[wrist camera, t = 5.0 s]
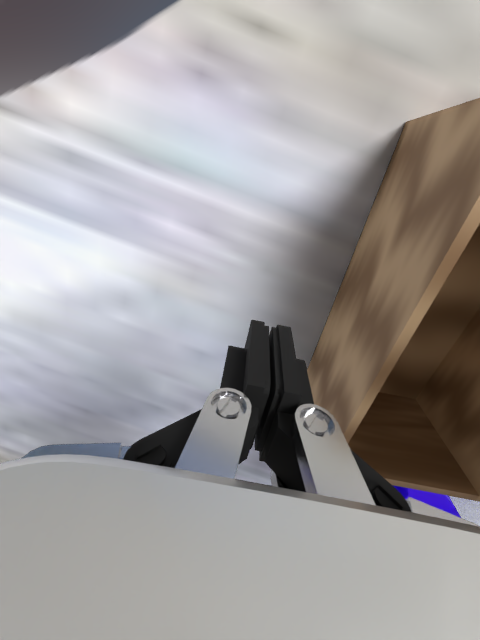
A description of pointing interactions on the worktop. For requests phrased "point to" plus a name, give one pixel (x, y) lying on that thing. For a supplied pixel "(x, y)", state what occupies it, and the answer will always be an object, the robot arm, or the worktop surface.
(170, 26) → the worktop surface
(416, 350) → the open wooden box
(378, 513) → the robot arm
